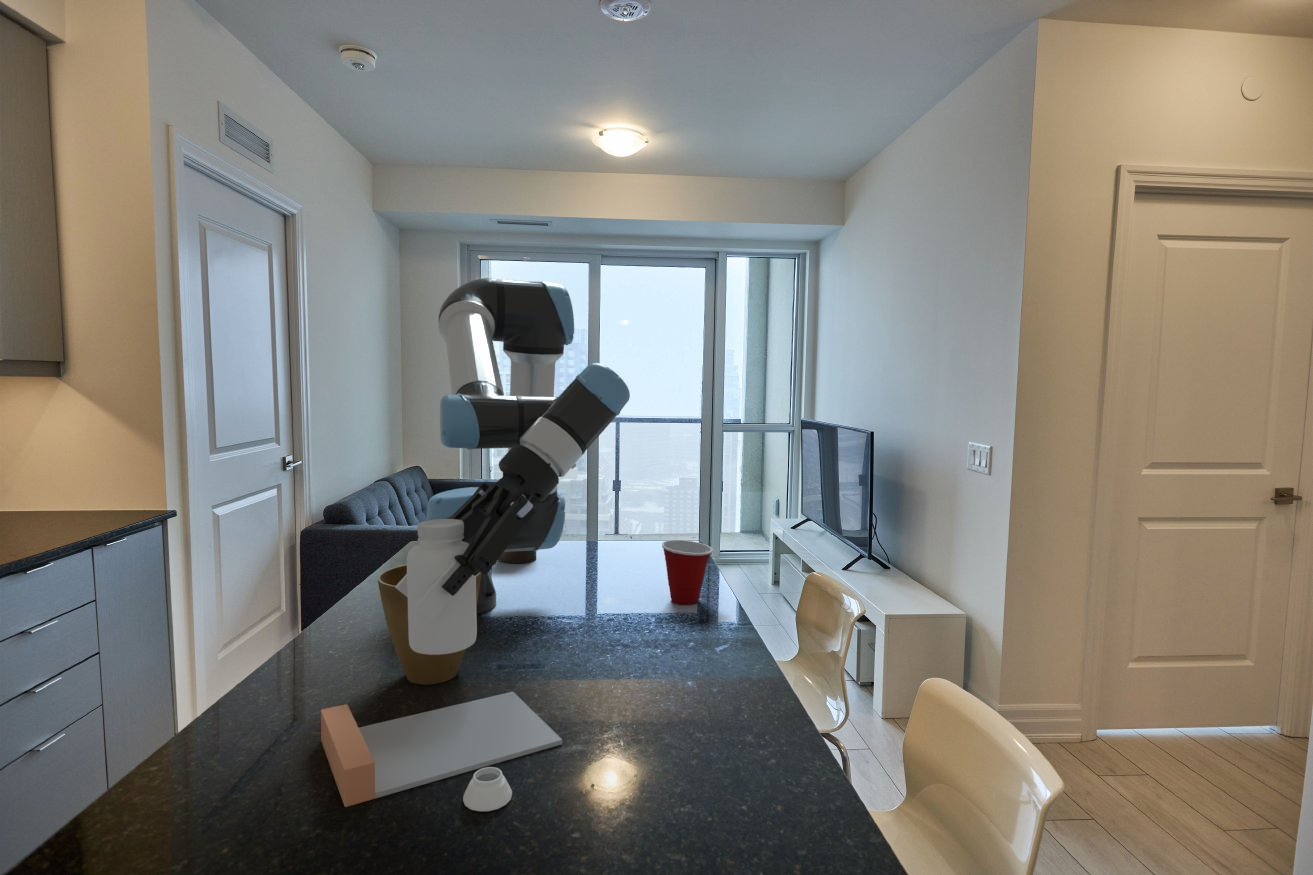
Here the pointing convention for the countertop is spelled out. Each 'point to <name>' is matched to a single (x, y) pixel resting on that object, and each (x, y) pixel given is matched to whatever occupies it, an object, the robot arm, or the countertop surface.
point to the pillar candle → (518, 556)
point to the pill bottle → (423, 569)
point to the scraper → (428, 744)
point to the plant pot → (396, 614)
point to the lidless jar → (487, 790)
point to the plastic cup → (685, 569)
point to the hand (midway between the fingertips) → (413, 603)
